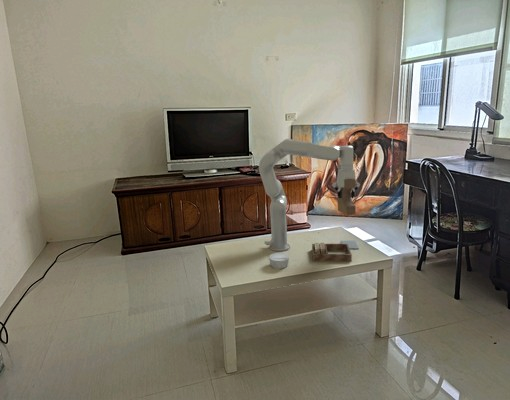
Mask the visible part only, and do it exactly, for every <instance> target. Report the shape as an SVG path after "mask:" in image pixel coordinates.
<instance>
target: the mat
mask: <svg viewBox="0 0 510 400" xmlns="http://www.w3.org/2000/svg"><path fill="white" fill-rule="evenodd" d="M340 244H348V246H349V249H350V250H359V246H358V243H357V242H356V240H340Z"/></svg>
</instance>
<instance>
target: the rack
mask: <svg viewBox="0 0 510 400" xmlns="http://www.w3.org/2000/svg"><path fill="white" fill-rule="evenodd" d="M324 245H325V254H315V244H314V243H311V252H312V261H313V262H352V259H353V258H352V257H353V255H352V251H351V249H349V246H348V244H341V243H324ZM319 247H320V243H319ZM328 251H346V253H329V252H328Z"/></svg>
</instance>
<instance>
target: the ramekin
mask: <svg viewBox="0 0 510 400" xmlns="http://www.w3.org/2000/svg"><path fill="white" fill-rule="evenodd" d="M268 256H269V257H268V260H269V263H270V265H269V266H271V268H273V269H278V270H281V269H286V268H287V267H288V265H289V261H290V255H288V254H287V253H284V252H275V253H271V254H270V255H268Z"/></svg>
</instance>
